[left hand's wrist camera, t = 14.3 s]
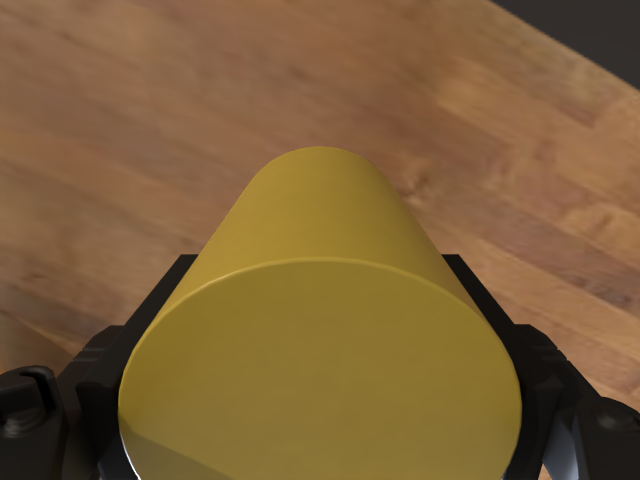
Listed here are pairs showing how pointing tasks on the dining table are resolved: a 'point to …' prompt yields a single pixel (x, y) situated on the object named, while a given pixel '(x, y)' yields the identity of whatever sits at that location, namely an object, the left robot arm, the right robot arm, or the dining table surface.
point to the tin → (319, 345)
